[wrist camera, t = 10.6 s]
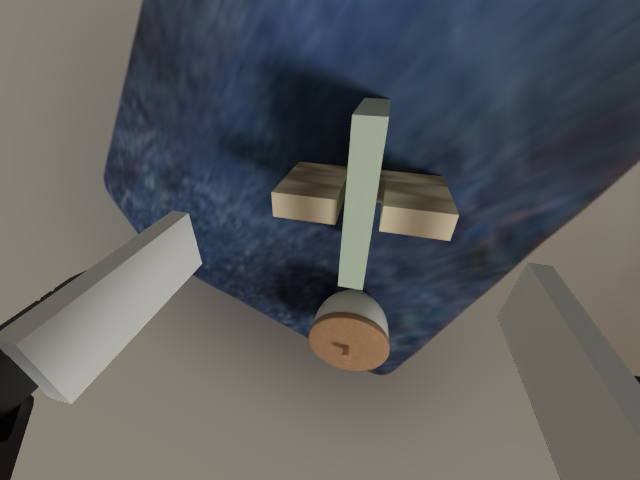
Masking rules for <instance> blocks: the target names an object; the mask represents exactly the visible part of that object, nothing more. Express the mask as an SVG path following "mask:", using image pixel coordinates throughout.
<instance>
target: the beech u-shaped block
mask: <svg viewBox="0 0 640 480" xmlns="http://www.w3.org/2000/svg"><path fill="white" fill-rule="evenodd" d="M347 170H348V167H346V166H336V165H326V164H317V163H307V162H299V163H298V164H297V165H296V166H295V167H294V168H293V169H292V170H291V171H290V172H289V173H288V174H287V176H286V177H285V178H284V179H283V180H282V181H281V182H280V183H279V184H278V185H277V186H276V188H275V189H274V190H273V191H272V192H271V195H272V208H273V217H281V218H288V219H295V220H302V221H310V222H317V223H324V224H331V225H335V224H336V221H337V218H338V216H339V213H340V210H341V207H342V204H343V201H344V199H345V194H346V182H347ZM376 202H381V203H382V206H381V217H380V228H379V231H382V232H390V233H397V234H404V235H411V236H419V237H426V238H433V239H440V240H448V241H450V240H451V237H452V234H453V231H454V228H455V225H456V222H457V219H458V217H459V214H458V211H457V209H456V207H455V204H454V202H453V199H452V197H451V194H450V192H449V189H448V187H447V185H446V182H445V180H444V177H443V176H435V175H425V174H415V173H405V172H395V171H385V170H381V172H380V179H379V185H378V192H377V199H376Z"/></svg>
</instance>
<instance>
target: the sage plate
mask: <svg viewBox="0 0 640 480" xmlns="http://www.w3.org/2000/svg"><path fill="white" fill-rule="evenodd" d="M389 110H390V99H378V98H364V99H363V101H362V102H361V103H360V105H359V106H358V107H357V109H356V110H355V111H354V113H353V114H352V123H351V135H350V147H349V158H348V170H347V182H346V194H345V206H344V218H343V230H342V241H341V253H340V265H339V277H338V286H341V287H347V288H352V289H358V290H363V284H364V277H365V271H366V264H367V258H368V251H369V244H370V238H371V231H372V225H373V218H374V212H375V205H376V199H377V192H378V185H379V179H380V172H381V166H382V159H383V153H384V146H385V139H386V133H387V126H388V120H389Z"/></svg>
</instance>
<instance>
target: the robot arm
mask: <svg viewBox="0 0 640 480" xmlns="http://www.w3.org/2000/svg"><path fill="white" fill-rule="evenodd" d="M201 264H202V262H201V258H200V254H199V251H198V247H197V243H196V239H195V236H194V232H193V228H192V224H191V221H190V217H189V213H184V212H177V211H172V212H170V213H169V214H167V215H166V216H165V217H163V218H162V219H160V220H159V221H157V222H156V223H154V224H153V225H152V226H150V227H149V228H147V229H146V230H144V231H143V232H142V233H140V234H139V235H137V236H136V237H134V238H133V239H131V240H130V241H129V242H127V243H126V244H124V245H123V246H121V247H120V248H119V249H117V250H116V251H114V252H113V253H111V254H110V255H108V256H107V257H106V258H104V259H103V260H102V261H100V262H98V263H97V264H96V265H94V266H93V267H91V268H90V269H88V270H86V271H84V272H82V273H80V274H78V275H75V276H73V277H71V278H69V279H68V280H66V281H65V282H63V283H62V284H60V285H59V286H58V287H56V288H55V289H54V291H50V292H49V293H47V294H46V295H44V296H43V297H41V299H40V301H36V302H34V303H33V304H31V305H30V306H28V307H27V308H25V309H24V310H22V311H21V312H20V313H18V314H16V315H15V316H14V317H12V318H11V319H9V320H8V321H6V322H5V323H3V324H2V325H0V480H10V479H11V476H12V472H13V469H14V466H15V463H16V459H17V456H18V453H19V450H20V446H21V443H22V440H23V437H24V434H25V430H26V427H27V424H28V421H29V417H30V414H31V411H32V408H33V402H34V397H33V396H32V395H31V393H32V392H33V391H34V390H36V389H37V388H38V387H39V388H40V389H41V390H42V391H43V392H44V393H45V394H46V395H47V396H48V397H50V398H52V399H55V400H59V401H62V402H65V403H69V404H72V403H73V402H74V401H75V400H76V398H78V396H79V395H80V394H81V393H82V392H83V391H84V390H85V389H86V388H87V387H88V386H89V384H91V382H92V381H93V380H94V379H95V378H96V377H97V376H98V375H99V374H100V373H101V372H102V371H103V370H104V368H105V367H106V366H107V365H108V364H109V363H110V362H111V361H112V360H113V359H114V358H115V357H116V356H117V355H118V353H119V352H120V351H121V350H122V349H123V348H124V347H125V346H126V345H127V344H128V343H129V341H131V339H132V338H133V337H134V336H135V335H136V334H137V333H138V332H139V331H140V330H141V329H142V328H143V327H144V326H145V324H146V323H147V322H148V321H149V320H150V319H151V318H152V317H153V316H154V315H155V314H156V313H157V312H158V311H159V309H160V308H161V307H162V306H163V305H164V304H165V303H166V302H167V301H168V299H170V298H171V297H172V295H173V294H174V293H175V292H176V291H177V290H178V289H179V288H180V287H181V286H182V285H183V284H184V283H185V281H186V280H187V279H188V278H189V277H190V276H191V275H192V274H193V273H194V272H195V271H196V270H197V269H198V268H199V267H200V265H201ZM497 317H498V319H499V322H500V325H501V327H502V330H503V333H504V335H505V338H506V340H507V343H508V346H509V348H510V351H511V353H512V356H513V358H514V361H515V364H516V366H517V369H518V371H519V374H520V376H521V379H522V382H523V384H524V387H525V389H526V392H527V394H528V397H529V400H530V402H531V405H532V408H533V410H534V413H535V415H536V418H537V420H538V423H539V426H540V428H541V431H542V433H543V436H544V438H545V441H546V444H547V446H548V449H549V451H550V454H551V457H552V459H553V462H554V464H555V467H556V469H557V472H558V474H559V477H560V480H640V377H638V376H634V375H633V374H632V373H631V372H630V370H629V369H628V367H627V366H626V365H625V363H624V362H623V361H622V359H621V358H620V357H619V355H618V354H617V353H616V351H615V350H614V349H613V347H612V346H611V345H610V343H609V342H608V340H607V339H606V338H605V336H604V335H603V334H602V333H601V331H600V330H599V328H598V327H597V326H596V324H595V323H594V322H593V320H592V319H591V318H590V316H589V315H588V313H587V312H586V311H585V309H584V308H583V307H582V305H581V304H580V303H579V301H578V300H577V299H576V297H575V296H574V295H573V293H572V292H571V291H570V289H569V288H568V287H567V285H566V284H565V282H564V281H563V280H562V278H561V277H560V276H559V275H558V273H557V272H556V270H555V269H554V268H553V266H548V265H541V264H534V263H527V265H526V266H525V268H524V270H523V272H522V274H521V275H520V277H519V279H518V281H517V282H516V284H515V286H514V288H513V289H512V291H511V293H510V295H509V296H508V298H507V300H506V302H505V304H504V305H503V307H502V309H501V311H500V312H499V314H498V316H497Z"/></svg>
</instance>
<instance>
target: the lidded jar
mask: <svg viewBox="0 0 640 480" xmlns="http://www.w3.org/2000/svg"><path fill="white" fill-rule="evenodd" d="M308 339H309V343H310V346H311V348H312V350H313V351H314V352H315V354H316V355H317V356H318V357H319V358H321V359H322V360H323V361H325V362H327V363H328V364H331V365H333V366H335V367H338V368H341V369H345V370H350V371H365V370H370V369H374V368H376V367H378V366H380V365H381V364H382V363H384V362H385V360H386V359H387V357H388V355H389V349H390V346H389V332H388V324H387V320H386V316H385V314H384V312H383V310H382V308H381V307H380V305H379V304H378V303H377V302H376V301H375V300H374V299H373V298H371V297H370V296H369V295H368V294H366V293H364V292H362V291H360V290H354V289H349V290H344V291H341V292H338V293H335V294H333V295H332V296H330V297H329V298H328V299H327V300H326V301H324V302H323V304H322V305H321V307H320V308H319V310H318V312H317V314H316V316H315V319H314V321H313V324H312V326H311V328H310V331H309V336H308Z"/></svg>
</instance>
